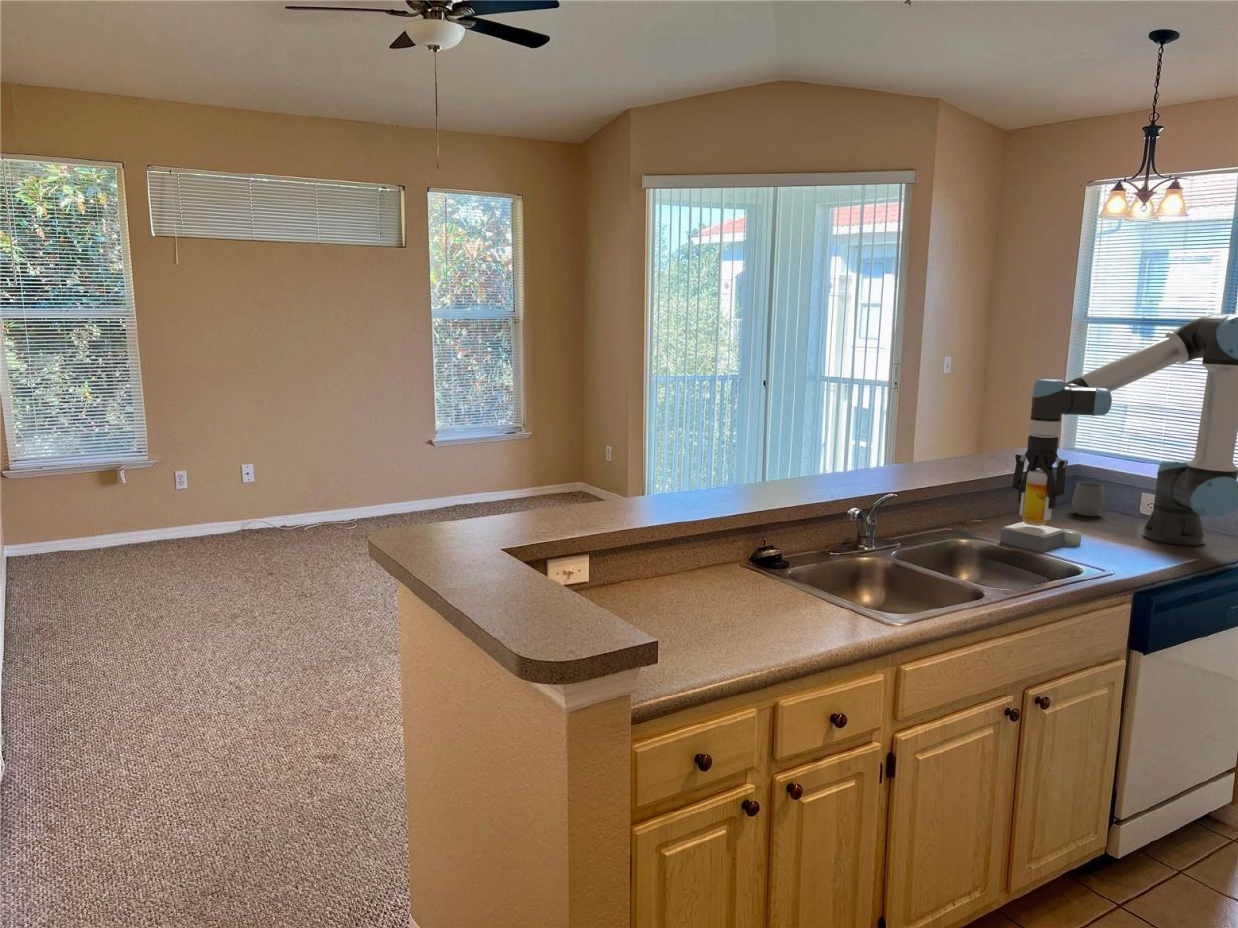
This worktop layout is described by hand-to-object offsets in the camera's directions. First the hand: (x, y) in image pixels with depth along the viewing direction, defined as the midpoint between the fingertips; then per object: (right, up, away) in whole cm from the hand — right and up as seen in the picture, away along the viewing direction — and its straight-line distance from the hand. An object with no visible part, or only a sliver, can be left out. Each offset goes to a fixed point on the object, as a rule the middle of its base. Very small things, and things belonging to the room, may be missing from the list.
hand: (1034, 516), depth 236 cm
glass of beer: (0, -2, 0) cm, 2 cm away
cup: (+36, -2, +39) cm, 53 cm away
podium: (0, -8, +1) cm, 8 cm away
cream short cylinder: (+11, -8, +3) cm, 14 cm away
